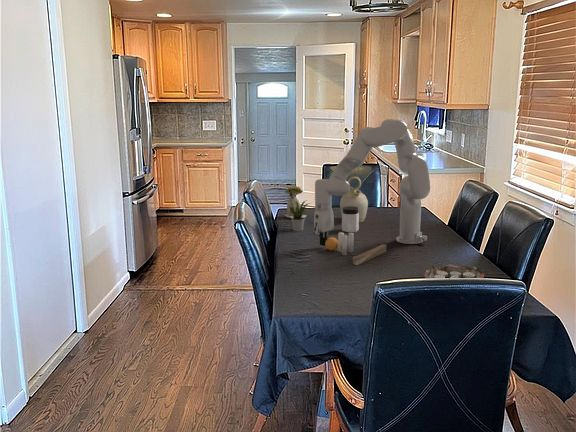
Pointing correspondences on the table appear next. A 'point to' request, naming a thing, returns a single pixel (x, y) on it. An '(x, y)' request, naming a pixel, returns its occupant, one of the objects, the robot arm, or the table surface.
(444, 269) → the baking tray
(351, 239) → the back pin right
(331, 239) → the ball
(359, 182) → the jug
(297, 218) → the house plant
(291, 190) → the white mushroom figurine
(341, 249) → the front pin
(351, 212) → the jar
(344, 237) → the back pin left
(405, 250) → the table surface
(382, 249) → the curved brown wooden stick
